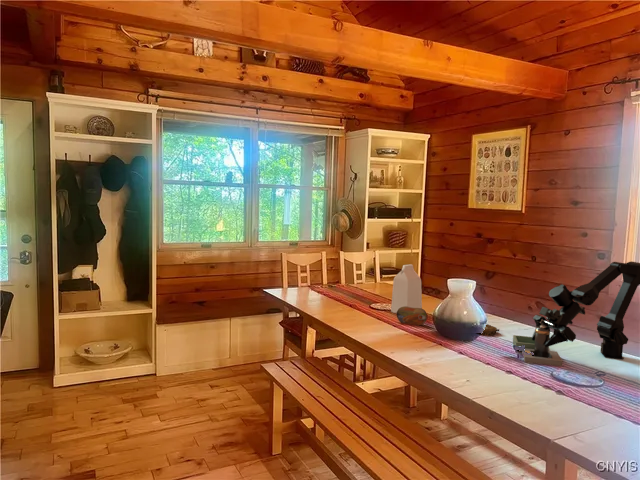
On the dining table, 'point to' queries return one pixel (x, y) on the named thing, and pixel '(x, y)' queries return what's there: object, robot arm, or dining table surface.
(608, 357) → the robot arm
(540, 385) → the dining table surface
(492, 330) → the decorative rock
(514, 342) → the cup
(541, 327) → the battery cell
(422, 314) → the tin
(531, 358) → the tester cradle
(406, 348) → the dining table surface
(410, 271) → the milk
